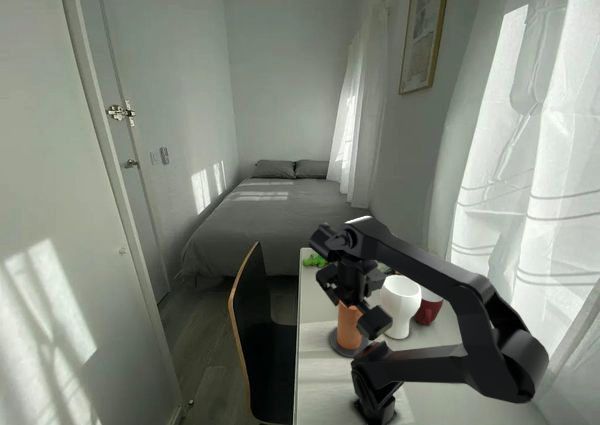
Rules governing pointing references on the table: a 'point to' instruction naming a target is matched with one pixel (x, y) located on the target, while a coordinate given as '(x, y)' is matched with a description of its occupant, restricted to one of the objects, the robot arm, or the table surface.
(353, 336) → the copper pot
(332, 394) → the table surface
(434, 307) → the mug
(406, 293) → the cup
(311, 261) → the toy
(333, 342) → the charcoal plate
